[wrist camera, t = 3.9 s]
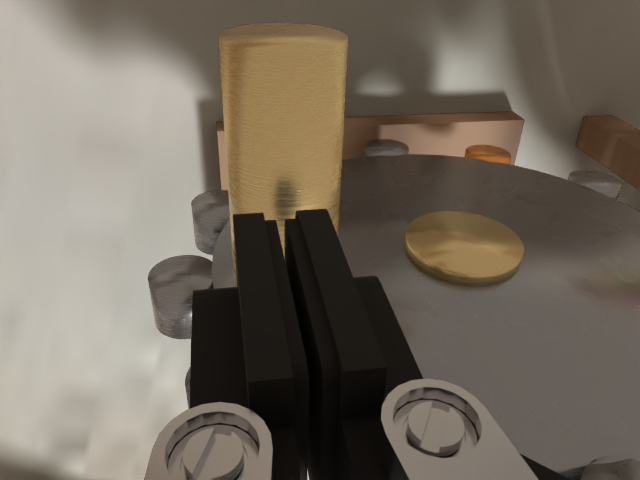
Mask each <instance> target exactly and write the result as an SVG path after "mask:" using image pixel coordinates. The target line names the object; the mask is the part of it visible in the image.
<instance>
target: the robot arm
mask: <svg viewBox="0 0 640 480" xmlns="http://www.w3.org/2000/svg"><path fill="white" fill-rule="evenodd" d="M233 229H234V245H235V261H236V277H237V287H228V288H216V289H204V290H193V297H192V333H191V372H190V409H188V410H186V411H184V412H183V413H181V414H180V415H178V416H177V417H175V418H174V419H172V420H171V421H170V422H169V423H168V424H167V425H166V426H165V428H164V429H163V430H162V431H161V432H160V433H159V435H158V437H157V440H156V442H155V444H154V446H153V448H152V452H151V456H150V459H149V463H148V467H147V471H146V474H145V478H144V480H307V468H308V474H309V480H571V479H569V478H567V477H565V476H563V475H561V474H559V473H557V472H555V471H553V470H551V469H549V468H547V467H545V466H543V465H541V464H539V463H537V462H535V461H534V460H532V459H530V458H528V457H526V456H524V455H522V454H520V453H519V452H518V451H517V450H516V448H515V447H514V446H513V444H512V443H511V442H510V440H509V439H508V437H507V436H506V435H505V433H504V432H503V431H502V429H501V428H500V427H499V425H498V424H497V423H496V421H495V420H494V418H493V417H492V416H491V414H490V413H489V412H488V410H487V409H486V408H485V406H484V405H483V404H482V403H481V402H480V401H479V400H478V399H477V398H476V397H475V396H474V395H472V394H471V393H469V392H468V391H466V390H464V389H463V388H461V387H460V386H457V385H454V384H451V383H449V382H446V381H442V380H434V379H423V376H422V374H421V372H420V370H419V367H418V365H417V363H416V361H415V358H414V356H413V354H412V352H411V349H410V347H409V345H408V343H407V340H406V338H405V336H404V334H403V332H402V329H401V327H400V325H399V323H398V320H397V318H396V316H395V314H394V311H393V309H392V307H391V305H390V302H389V300H388V298H387V296H386V293H385V291H384V289H383V287H382V284H381V282H380V281H379V279H378V277H376V276H363V277H353V275H352V273H351V270H350V267H349V265H348V262H347V259H346V257H345V254H344V252H343V249H342V246H341V244H340V241H339V238H338V236H337V233H336V231H335V228H334V225H333V223H332V220H331V218H330V215H329V212H328V210H327V209H312V210H296V213H295V219H285V223H284V249H285V259H284V254H283V249H282V245H281V240H280V236H279V231H278V226H277V222H276V220H265V218H264V213H246V214H233Z"/></svg>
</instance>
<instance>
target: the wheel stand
mask: <svg viewBox="0 0 640 480" xmlns="http://www.w3.org/2000/svg"><path fill="white" fill-rule="evenodd" d="M523 124H524V119H523V118H521V117H520V116H518V115H517V114H516V113H514V112H513V111H512V112H483V113H454V114H425V115H395V116H366V117H344V129H343V148H342V160H346V159H352V158H360V157H364V148H365V144H366V143H367V142H369V141H371V140H375V139H392V140H397V141H400V142H402V143H404V144H406V145H407V146H408V147H409V153H408V154H427V155H446V156H457V157H464V156H465V151H466V148H468V147H469V146H472V145H492V146H496V147H500V148H502V149H505V150H507V151H508V152H509V153H510V154H511V161H510V165H514V163H515V159H516V155H517V150H518V146H519V142H520V137H521V133H522V129H523ZM217 137H218V150H219V164H220V178H221V190H228V179H227V163H226V148H225V133H224V121H220V122H217ZM576 147H578V148H579V149H581V150H582V151H584V152H585V153H586V154H588V155H589V156H591V157H592V158H594V159H595V160H596V161H598V162H599V163H601V164H602V165H604V166H605V167H607V168H608V169H609V170H611V171H612V172H614V173H615V174H617V175H618V176H620V177H621V178H622V179H624V180H625V181H627V182H628V183H630V184H631V185H633V186H634V187H635V188H637V189H638V190H640V131H639V130H638V129H636V128H634V127H632V126H630V125H629V124H627V123H625V122H623V121H621V120H620V119H618V118H616V117H614V116H587V117H584V119H583V122H582V126H581V129H580V133H579V136H578V140H577V143H576Z"/></svg>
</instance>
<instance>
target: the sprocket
mask: <svg viewBox="0 0 640 480" xmlns="http://www.w3.org/2000/svg"><path fill="white" fill-rule="evenodd" d="M218 41H219V57H220V72H221V87H222V102H223V118H224V133H225V148H226V163H227V179H228V190H213V191H208V192H205V193H202V194H200V195H198V196H196V197H195V198H194V199H193V200H192V203H191V205H192V214H193V224H194V233H195V243H196V247H197V248H198V249H199V250H200V251H202V252H204V253H206V254H210V255H213V262H212V261H210V260H208V259H206V258H204V257H201V256H195V255H182V256H175V257H171V258H168V259H166V260H163V261H161V262H160V263H158V264H157V265H155V266H154V267H153V268H152V269H151V271H150V272H149V275H148V282H149V288H150V294H151V300H152V306H153V312H154V318H155V324H156V327H157V329H158V330H159V331H160V332H161V333H162V334H164V335H166V336H168V337H171V338H175V339H190V338H191V333H192V297H193V290H204V289H216V288H228V287H237V277H236V261H235V245H234V229H233V214H246V213H264V218H265V220H276V222H277V226H278V231H279V236H280V240H281V245H282V249H283V254H284V259H285V249H284V223H285V219H295V213H296V210H312V209H327V210H328V212H329V215H330V218H331V220H332V223H333V225H334V228H335V231H336V233H337V236H338V238H339V241H340V244H341V246H342V249H343V252H344V254H345V257H346V259H347V262H348V265H349V267H350V270H351V273H352V275H353V277H363V276H376V277H378V279H379V281H380V282H381V284H382V287H383V289H384V291H385V293H386V296H387V298H388V300H389V302H390V305H391V307H392V309H393V311H394V314H395V316H396V318H397V320H398V323H399V325H400V327H401V329H402V332H403V334H404V336H405V338H406V340H407V343H408V345H409V347H410V349H411V352H412V354H413V356H414V358H415V361H416V363H417V365H418V367H419V370H420V372H421V374H422V376H423V379H434V380H442V381H446V382H449V383H451V384H454V385H457V386H460V387H461V388H463V389H464V390H466V391H468V392H469V393H471V394H472V395H474V396H475V397H476V398H477V399H478V400H479V401H480V402H481V403H482V404H483V405H484V406H485V408H486V409H487V410H488V412H489V413H490V414H491V416H492V417H493V418H494V420H495V421H496V423H497V424H498V425H499V427H500V428H501V429H502V431H503V432H504V433H505V435H506V436H507V437H508V439H509V440H510V442H511V443H512V444H513V446H514V447H515V448H516V450H517V451H518V452H519V453H520V454H522V455H524V456H526V457H528V458H530V459H532V460H534V461H535V462H537V463H539V464H541V465H543V466H545V467H547V468H549V469H551V470H553V471H555V472H557V473H559V474H561V475H563V476H565V477H567V478H569V479H571V480H640V212H639V211H638V210H636V209H634V208H632V207H630V206H628V205H626V204H624V203H622V202H620V201H618V200H617V198H618V195H619V192H620V189H621V183H620V182H619V181H618V180H617V179H615V178H614V177H612V176H609V175H607V174H604V173H600V172H595V171H588V170H580V171H574V172H572V173H570V174H569V177H568V180H565V179H563V178H560V177H556V176H553V175H549V174H546V173H542V172H539V171H535V170H531V169H527V168H523V167H519V166H514V165H510V161H511V154H510V153H509V152H508V151H507V150H505V149H502V148H500V147H496V146H492V145H472V146H469V147H468V148H466V151H465V156H464V157H457V156H446V155H427V154H408V153H409V147H408V146H407V145H406V144H404V143H402V142H400V141H397V140H392V139H375V140H371V141H369V142H367V143H366V144H365V148H364V157H360V158H352V159H346V160H342V148H343V129H344V110H345V91H346V72H347V53H348V36H347V35H346V34H345V33H343V32H341V31H338V30H335V29H332V28H328V27H323V26H317V25H310V24H299V23H258V24H248V25H241V26H236V27H232V28H229V29H226V30H224V31H222V32H220V33H219V35H218ZM190 372H191V367H190V369H189V370H188V372H187V375H186V379H185V386H186V393H187V400H188V408H189V409H190Z"/></svg>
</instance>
